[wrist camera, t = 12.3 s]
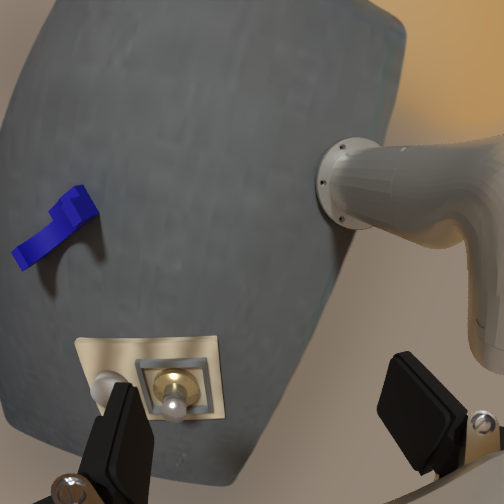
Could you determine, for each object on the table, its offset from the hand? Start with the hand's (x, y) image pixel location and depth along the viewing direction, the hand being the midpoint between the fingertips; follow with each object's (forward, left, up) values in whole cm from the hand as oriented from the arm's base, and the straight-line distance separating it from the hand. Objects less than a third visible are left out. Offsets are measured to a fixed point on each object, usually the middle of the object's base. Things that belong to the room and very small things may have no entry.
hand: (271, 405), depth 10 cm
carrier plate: (+13, +23, -30) cm, 40 cm away
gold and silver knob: (+9, +23, -29) cm, 38 cm away
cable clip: (+23, -3, -31) cm, 38 cm away
